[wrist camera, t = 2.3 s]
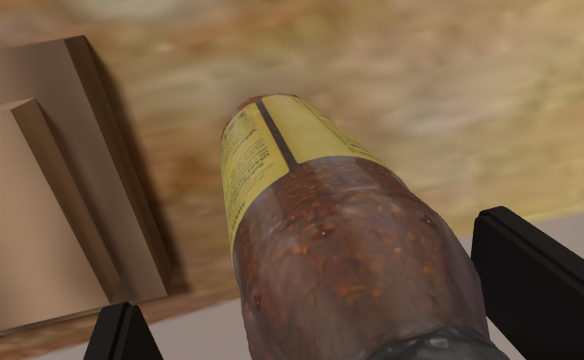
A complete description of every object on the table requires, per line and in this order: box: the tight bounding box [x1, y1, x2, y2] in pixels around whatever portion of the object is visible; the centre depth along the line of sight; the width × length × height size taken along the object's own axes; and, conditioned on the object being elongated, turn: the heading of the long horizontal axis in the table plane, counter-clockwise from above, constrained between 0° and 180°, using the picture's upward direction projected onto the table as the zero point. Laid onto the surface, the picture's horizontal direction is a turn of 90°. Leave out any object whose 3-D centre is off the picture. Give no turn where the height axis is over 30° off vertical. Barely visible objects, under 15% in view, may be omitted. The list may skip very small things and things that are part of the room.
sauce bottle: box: [220, 94, 510, 360], centre depth 12 cm, size 6×6×20 cm
